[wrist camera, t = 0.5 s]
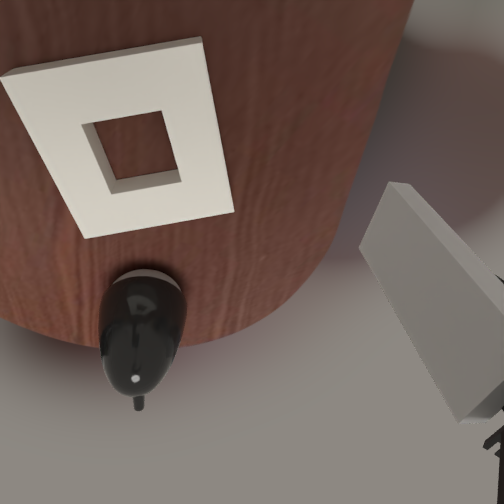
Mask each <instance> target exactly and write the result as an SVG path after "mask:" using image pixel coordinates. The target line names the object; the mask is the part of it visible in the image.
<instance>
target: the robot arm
mask: <svg viewBox="0 0 504 504" xmlns="http://www.w3.org/2000/svg"><path fill="white" fill-rule="evenodd" d="M359 249H360V251H361V253H362V254H363V256H364V258H365V260H366V262H367V263H368V265H369V267H370V269H371V271H372V272H373V274H374V276H375V277H376V279H377V281H378V283H379V285H380V286H381V288H382V290H383V292H384V293H385V295H386V297H387V299H388V301H389V302H390V304H391V306H392V308H393V309H394V311H395V313H396V315H397V317H398V318H399V320H400V322H401V323H402V325H403V327H404V329H405V331H406V333H407V334H408V336H409V338H410V340H411V341H412V343H413V345H414V347H415V348H416V350H417V352H418V354H419V356H420V357H421V359H422V361H423V363H424V364H425V366H426V368H427V370H428V372H429V373H430V375H431V377H432V378H433V380H434V382H435V384H436V386H437V387H438V389H439V391H440V393H441V395H442V396H443V398H444V400H445V402H446V403H447V405H448V407H449V409H450V411H451V412H452V414H453V416H454V418H455V419H456V421H457V423H458V424H468V423H469V424H470V423H486V422H487V421H488V420H490V419H491V418H492V417H493V416H494V415H495V414H496V413H498V412H499V411H500V410H501V409H502V410H503V411H504V280H502V279H501V278H499V277H498V276H497V275H495V274H494V273H493V272H492V271H491V270H490V269H489V268H488V267H487V266H486V265H485V264H484V263H483V262H482V261H481V259H479V258H478V256H477V255H475V253H474V252H473V251H472V250H471V249H470V248H469V247H468V246H467V245H466V244H465V242H464V241H462V239H461V238H460V237H459V236H458V235H457V234H456V233H455V232H454V231H453V230H452V229H451V228H450V227H449V225H447V223H446V222H445V221H444V220H443V219H442V218H441V217H440V216H439V215H438V214H437V213H436V212H435V211H434V209H432V207H431V206H430V205H429V204H428V203H427V202H426V201H425V200H424V199H423V198H422V197H421V196H420V195H419V194H418V193H417V191H416V190H415V189H414V188H412V186H411V185H410V184H404V183H396V182H388V185H387V187H386V189H385V191H384V193H383V196H382V198H381V200H380V202H379V204H378V207H377V209H376V211H375V213H374V215H373V218H372V220H371V222H370V224H369V227H368V229H367V231H366V233H365V235H364V237H363V240H362V242H361V244H360V246H359ZM497 442H500V443H501V445H500V449H499V450H498V451H497V452H496V453H495V455H496V456H498V457H499V458H500V463H499V481H498V498H497V504H504V425H503V426H502V427H501V428H500V429H499V430H497V431H496V432H495V433H494V434H493V435H491V436H490V437H489V438H488V439H487V440H485V443H484V445H483V448H485V449H487V450H488V449H489V448H491V447H492V446H493V445H494V444H496V443H497Z"/></svg>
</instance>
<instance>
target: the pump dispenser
mask: <svg viewBox="0 0 504 504" xmlns="http://www.w3.org/2000/svg"><path fill="white" fill-rule="evenodd" d="M186 316H187V302H186V299H185V297H184V295H183V293H182V292H181V290H180V288H179V286H178V285H177V283H176V282H175V281H174V280H173V279H172V278H171V277H169V276H168V275H166V274H164V273H162V272H159V271H156V270H151V269H139V270H134V271H131V272H128V273H126V274H124V275H122V276H121V277H119V278H118V279H117V280H116V281H115V282H114V283H113V284H112V285H111V286H110V287H109V288H108V289H107V290H106V291H105V293H104V294H103V296H102V299H101V303H100V308H99V322H98V333H99V346H100V353H101V360H102V364H103V368H104V371H105V374H106V376H107V378H108V381H109V382H110V384H111V385H112V387H113V388H114V389H115V390H116V391H117V392H118V393H120V394H122V395H124V396H128V397H133V403H134V409H135V410H136V411H141V410H143V408H144V401H145V400H144V399H145V395H146V394H148V393H150V392H151V391H152V390H154V389H155V388H156V387H157V386H158V385H159V384H160V382H161V381H162V379H163V378H164V377H165V375H166V374H167V372H168V370H169V368H170V366H171V364H172V362H173V360H174V357H175V355H176V352H177V350H178V347H179V344H180V341H181V338H182V335H183V331H184V326H185V322H186Z"/></svg>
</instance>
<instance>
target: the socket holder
mask: <svg viewBox="0 0 504 504" xmlns="http://www.w3.org/2000/svg"><path fill="white" fill-rule="evenodd" d="M0 80H1V82H2V84H3V86H4V88H5V90H6V92H7V93H8V95H9V97H10V99H11V101H12V103H13V105H14V107H15V108H16V110H17V112H18V114H19V116H20V118H21V120H22V122H23V123H24V125H25V127H26V129H27V131H28V133H29V135H30V137H31V138H32V140H33V142H34V144H35V146H36V148H37V150H38V152H39V154H40V155H41V157H42V159H43V161H44V163H45V165H46V167H47V169H48V170H49V172H50V174H51V176H52V178H53V180H54V182H55V184H56V185H57V187H58V189H59V191H60V193H61V195H62V197H63V199H64V200H65V202H66V204H67V206H68V208H69V210H70V212H71V214H72V216H73V217H74V219H75V221H76V223H77V225H78V227H79V229H80V231H81V232H82V234H83V236H84V238H85V239H87V238H92V237H98V236H103V235H109V234H114V233H120V232H126V231H131V230H137V229H142V228H148V227H153V226H159V225H165V224H170V223H176V222H181V221H187V220H192V219H198V218H204V217H209V216H215V215H220V214H226V213H231V212H234V207H233V201H232V195H231V190H230V185H229V179H228V174H227V169H226V164H225V158H224V153H223V148H222V143H221V137H220V132H219V127H218V122H217V116H216V111H215V106H214V101H213V95H212V90H211V85H210V80H209V74H208V69H207V64H206V59H205V53H204V48H203V43H202V38H201V36H199V37H193V38H187V39H182V40H176V41H170V42H164V43H158V44H153V45H147V46H141V47H135V48H129V49H123V50H118V51H112V52H106V53H100V54H94V55H89V56H83V57H77V58H71V59H65V60H59V61H54V62H48V63H42V64H36V65H30V66H25V67H19V68H13V69H12V70H10V71H9V72H7V73H6V74H4V75H2V76H1V77H0ZM160 110H162V114H163V117H164V121H165V124H166V128H167V131H168V135H169V138H170V142H171V145H172V149H173V152H174V156H175V160H176V163H177V167H178V169H176V170H170V171H165V172H159V173H153V174H148V175H142V176H136V177H131V178H125V179H119V180H116V178H115V176H114V174H113V171H112V169H111V166H110V164H109V161H108V159H107V156H106V154H105V152H104V149H103V147H102V144H101V142H100V139H99V137H98V135H97V132H96V130H95V127H94V125H93V122H97V121H103V120H109V119H115V118H120V117H126V116H132V115H137V114H143V113H149V112H155V111H160Z"/></svg>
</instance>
